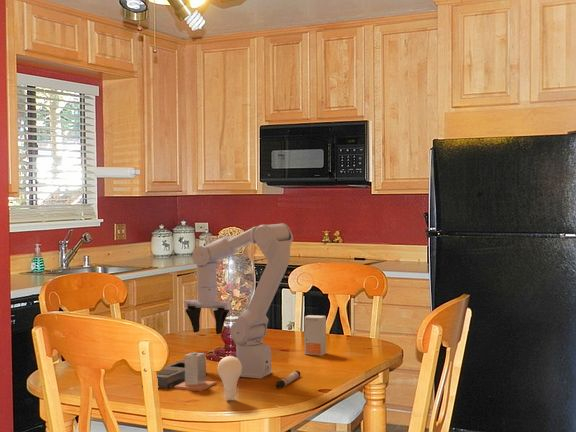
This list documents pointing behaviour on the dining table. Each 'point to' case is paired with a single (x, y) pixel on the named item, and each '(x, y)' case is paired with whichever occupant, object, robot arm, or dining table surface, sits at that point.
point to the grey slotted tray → (171, 375)
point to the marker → (287, 379)
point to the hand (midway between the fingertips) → (207, 332)
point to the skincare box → (315, 335)
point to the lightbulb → (229, 375)
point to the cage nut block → (195, 369)
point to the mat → (195, 388)
